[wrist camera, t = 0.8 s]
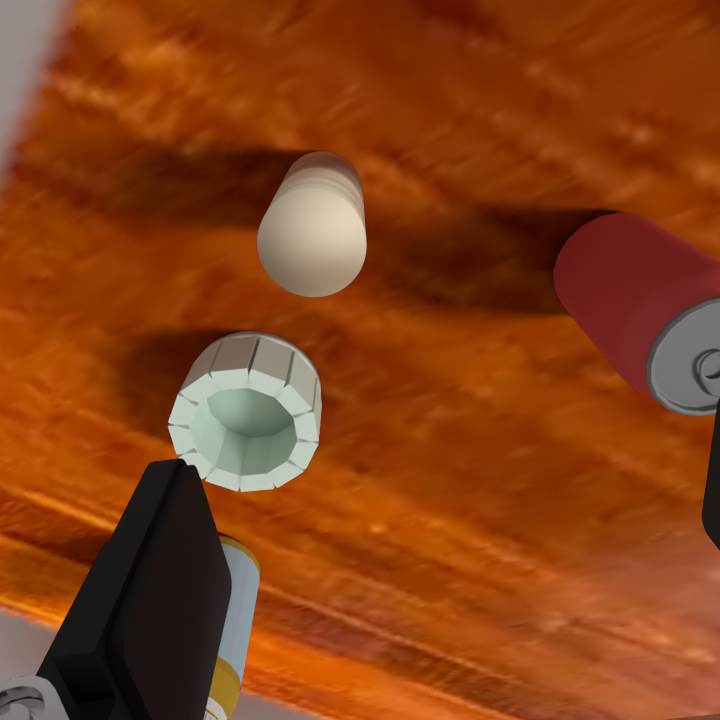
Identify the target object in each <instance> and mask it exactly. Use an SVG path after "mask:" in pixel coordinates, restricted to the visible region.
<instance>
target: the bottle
mask: <svg viewBox="0 0 720 720" xmlns="http://www.w3.org/2000/svg"><path fill="white" fill-rule="evenodd" d="M219 538H220V541H221V544H222V548H223V551H224V554H225V557H226V560H227V563H228V566H229V569H230V573H231V579H232V592H231V597H230V602H229V606H228V611H227V615H226V620H225V624H224V629H223V634H222V638H221V643H220V647H219V652H218V656H217V661H216V665H215V670H214V675H213V679H212V684H211V688H210V693H209V697H208V702H207V706H206V711H205V715H204V720H228V719H229V717H230V715H231V714H232V712H233V710H234V708H235V706H236V704H237V701H238V698H239V692H240V689H241V684H242V678H243V672H244V666H245V661H246V655H247V649H248V643H249V638H250V632H251V626H252V620H253V615H254V609H255V603H256V597H257V592H258V586H259V578H260V567H259V563H258V561H257V559H256V558H255V556H254V554H253V553H252V552H251V551H250V550H249V549H248V548H247V547H245V546H244V545H243V544H242V543H241V542H239V541H237V540H235V539H232V538H230V537H227V536H222V535H219Z"/></svg>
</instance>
